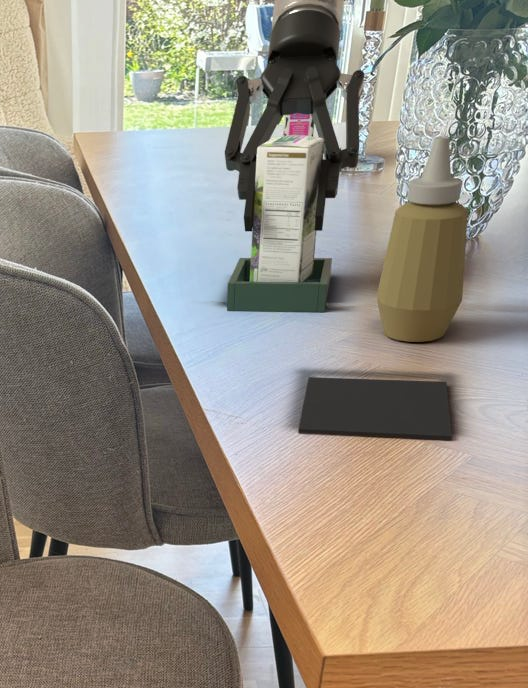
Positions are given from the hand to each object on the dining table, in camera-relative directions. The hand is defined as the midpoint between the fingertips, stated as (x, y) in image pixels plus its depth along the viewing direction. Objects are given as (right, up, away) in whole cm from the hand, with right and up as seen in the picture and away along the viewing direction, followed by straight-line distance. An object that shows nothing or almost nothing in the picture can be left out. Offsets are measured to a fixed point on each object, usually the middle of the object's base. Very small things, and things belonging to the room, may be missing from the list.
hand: (283, 223), depth 105 cm
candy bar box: (+18, +37, +67) cm, 78 cm away
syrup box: (+2, -4, +7) cm, 8 cm away
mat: (+3, -24, -20) cm, 32 cm away
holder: (+1, -5, +8) cm, 10 cm away
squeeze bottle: (+12, -14, -5) cm, 19 cm away
